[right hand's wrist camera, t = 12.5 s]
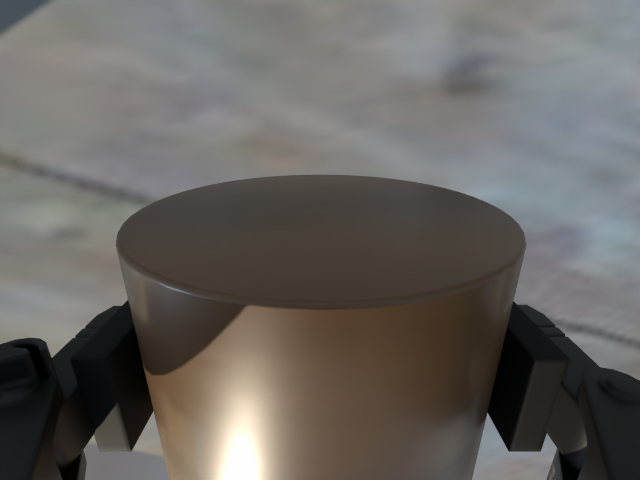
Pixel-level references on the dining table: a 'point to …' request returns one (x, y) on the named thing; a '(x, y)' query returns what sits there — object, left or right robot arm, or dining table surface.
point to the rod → (320, 326)
